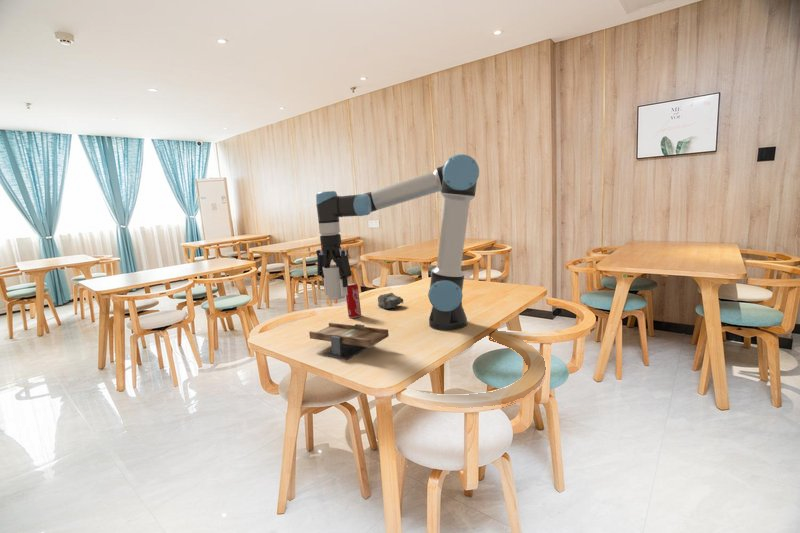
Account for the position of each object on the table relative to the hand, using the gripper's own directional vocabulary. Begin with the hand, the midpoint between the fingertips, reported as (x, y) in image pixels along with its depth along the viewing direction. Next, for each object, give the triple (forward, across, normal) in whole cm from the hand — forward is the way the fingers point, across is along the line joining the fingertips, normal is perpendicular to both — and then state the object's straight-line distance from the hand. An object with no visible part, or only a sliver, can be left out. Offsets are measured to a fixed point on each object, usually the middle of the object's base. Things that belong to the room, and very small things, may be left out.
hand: (336, 294), depth 152 cm
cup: (+1, 0, 0) cm, 1 cm away
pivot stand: (+17, -12, +8) cm, 22 cm away
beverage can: (+17, +13, -24) cm, 32 cm away
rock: (+17, +5, -42) cm, 46 cm away
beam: (+12, -12, +8) cm, 19 cm away
